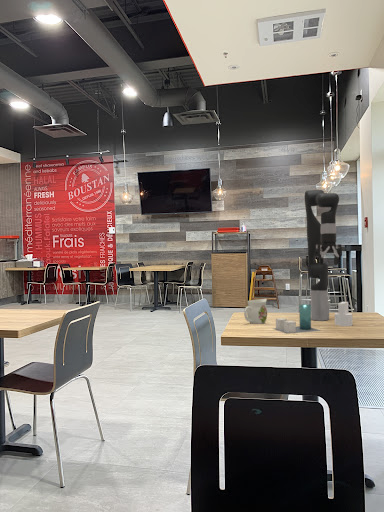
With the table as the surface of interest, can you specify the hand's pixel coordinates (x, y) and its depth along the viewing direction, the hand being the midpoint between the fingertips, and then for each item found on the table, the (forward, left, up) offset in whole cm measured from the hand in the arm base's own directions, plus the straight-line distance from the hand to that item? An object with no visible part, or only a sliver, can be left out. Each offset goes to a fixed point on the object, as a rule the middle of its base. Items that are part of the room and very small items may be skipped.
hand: (328, 265), depth 214 cm
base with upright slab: (-17, -11, -33) cm, 39 cm away
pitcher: (+27, -28, -33) cm, 51 cm away
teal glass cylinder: (+13, -2, -32) cm, 34 cm away
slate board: (+18, -2, -33) cm, 38 cm away
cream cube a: (+24, +2, -32) cm, 40 cm away
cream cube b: (+24, -6, -32) cm, 40 cm away
